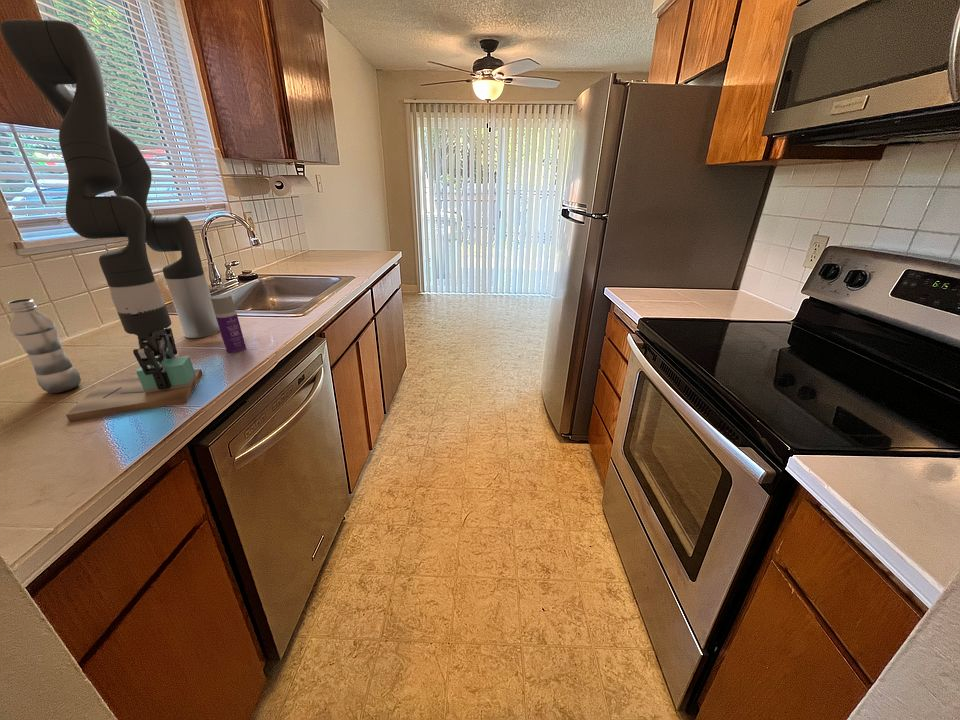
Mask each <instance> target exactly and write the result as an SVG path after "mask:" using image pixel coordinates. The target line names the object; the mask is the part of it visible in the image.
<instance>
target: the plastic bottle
mask: <svg viewBox="0 0 960 720" xmlns="http://www.w3.org/2000/svg"><path fill="white" fill-rule="evenodd" d="M7 306H8V308H9V311H10V313H13V316H12V318H11V321H10V323H9V331H10V332H11V334H12V335H13V337H14V338H15V339H16V341H18V343H19V344H20V346H21V347H22V348H23V350H24V352H25V354H27V357H28V358H29V359H30V362H31V363H30V364H31V365H32V367H33V368H32V369H33V370H34V373H35V379H36V381H37V383H38V386H39V387H40V388H41V389H42V391H45V392H47V393H48V394H56V393H62V392H66V391H69V390H72V389H74V388H77V387H78V386H80V384H81V381H82V379H81V375H80V372H79V371H78V370H77V368H76V367H75V366H74V365H73V364H72V362H71V360H70V359H69V358H68V356H67V354H66V352H65V350H64V348H63V346H62V343H61V340H60V338H59V333H58V329H57V326H56V323H55V321H54V320H53V319H52V318H51V317H50V316H47V315H46V314H44V313H42V312H41V311H39V310H37V309H38V305H37V304H36V302H35V301H34V299H33V298H21V299H14V300H11V301H8V302H7Z"/></svg>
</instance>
